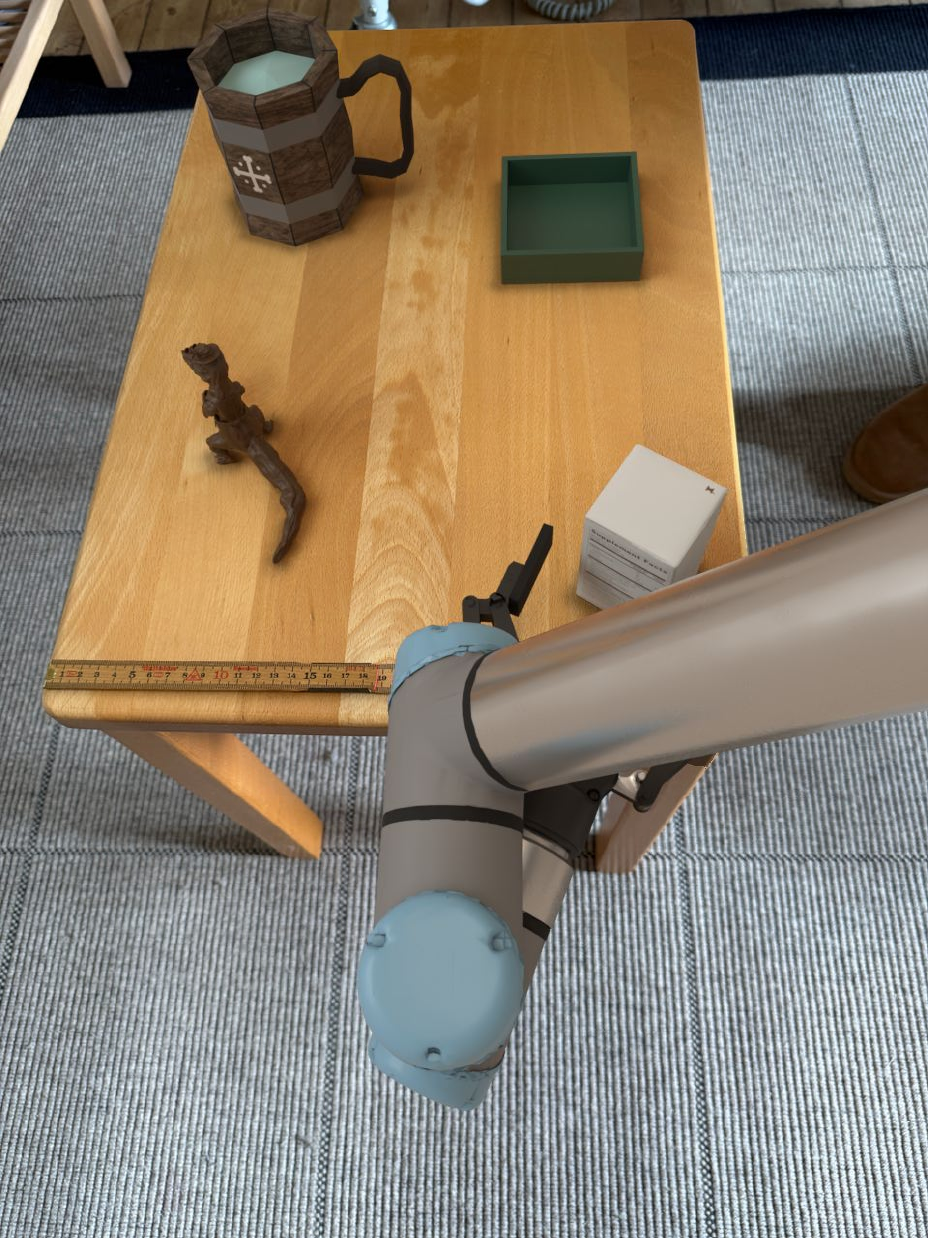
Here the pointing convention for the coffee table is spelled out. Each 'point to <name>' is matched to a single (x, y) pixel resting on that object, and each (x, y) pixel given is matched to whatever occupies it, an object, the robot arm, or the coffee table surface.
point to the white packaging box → (646, 529)
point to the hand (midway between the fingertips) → (636, 564)
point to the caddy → (571, 218)
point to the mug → (290, 122)
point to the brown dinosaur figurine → (244, 433)
